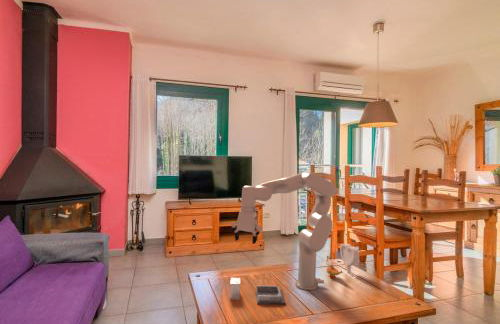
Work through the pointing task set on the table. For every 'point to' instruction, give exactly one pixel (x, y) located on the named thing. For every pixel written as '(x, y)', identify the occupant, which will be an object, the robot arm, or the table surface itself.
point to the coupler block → (235, 288)
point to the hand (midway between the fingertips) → (245, 241)
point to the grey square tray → (270, 295)
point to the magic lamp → (332, 270)
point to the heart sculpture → (349, 257)
